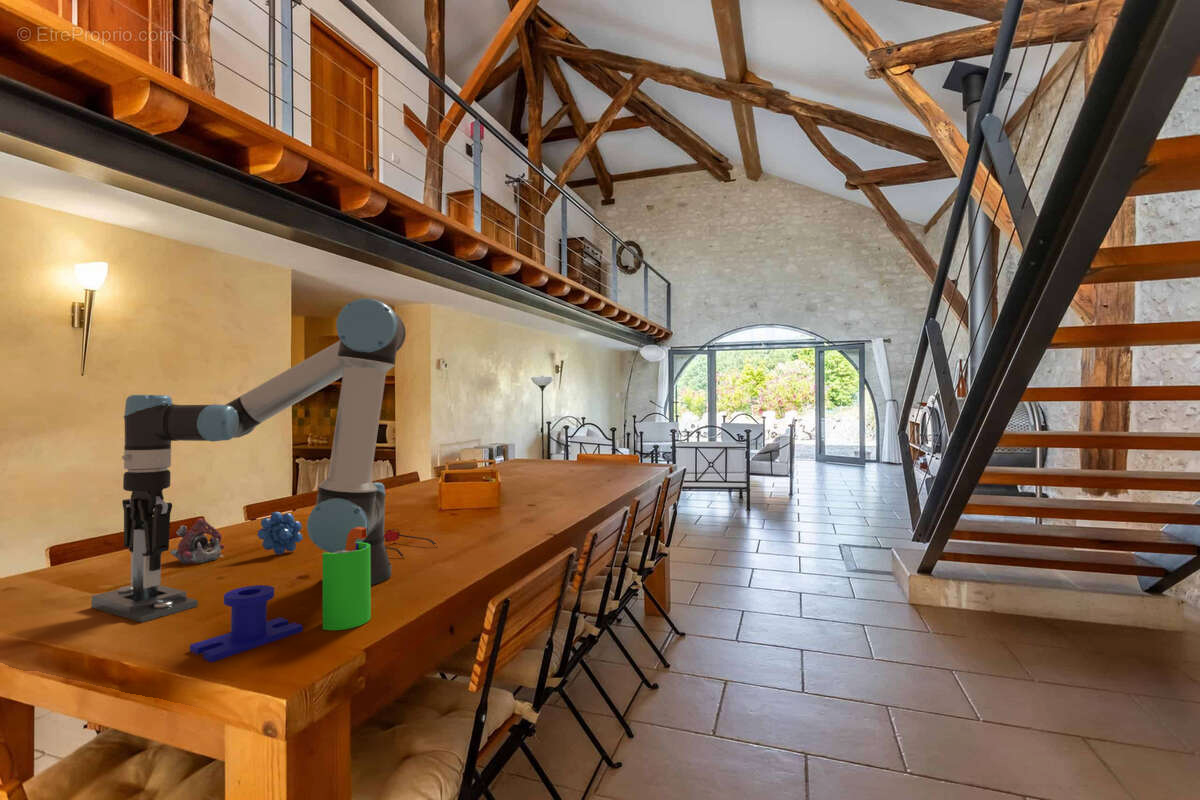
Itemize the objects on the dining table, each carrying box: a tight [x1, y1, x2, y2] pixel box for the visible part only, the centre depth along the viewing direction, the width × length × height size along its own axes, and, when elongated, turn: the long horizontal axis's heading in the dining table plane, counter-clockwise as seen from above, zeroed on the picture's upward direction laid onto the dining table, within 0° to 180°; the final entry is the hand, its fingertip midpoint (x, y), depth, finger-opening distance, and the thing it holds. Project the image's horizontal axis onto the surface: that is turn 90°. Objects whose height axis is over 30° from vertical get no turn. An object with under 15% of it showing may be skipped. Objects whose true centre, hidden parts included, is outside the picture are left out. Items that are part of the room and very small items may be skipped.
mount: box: [189, 584, 304, 663], centre depth 99 cm, size 15×8×9 cm, turn 148°
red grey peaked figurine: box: [169, 518, 226, 564], centre depth 150 cm, size 11×11×12 cm
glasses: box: [384, 528, 436, 556], centre depth 162 cm, size 14×16×5 cm
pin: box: [132, 527, 158, 601], centre depth 115 cm, size 4×4×14 cm
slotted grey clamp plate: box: [91, 585, 199, 623], centre depth 115 cm, size 18×10×3 cm, turn 65°
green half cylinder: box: [322, 527, 372, 631], centre depth 108 cm, size 9×8×18 cm
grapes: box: [256, 511, 304, 555], centre depth 156 cm, size 12×7×12 cm, turn 141°
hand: (145, 584), depth 115 cm, fingers closed on pin, 4 cm apart
